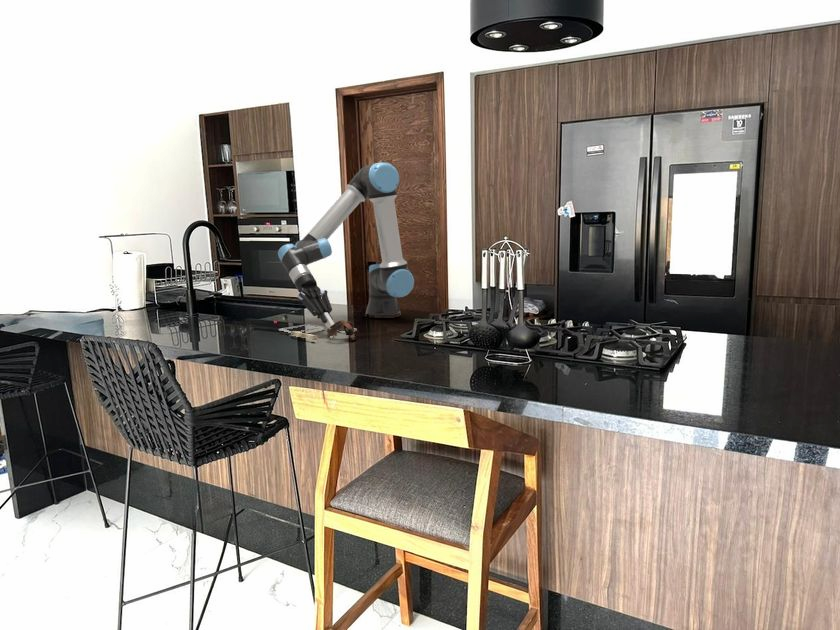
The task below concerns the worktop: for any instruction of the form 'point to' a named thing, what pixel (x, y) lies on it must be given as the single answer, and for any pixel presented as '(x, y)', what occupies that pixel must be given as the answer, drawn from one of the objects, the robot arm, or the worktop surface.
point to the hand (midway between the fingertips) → (332, 328)
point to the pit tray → (297, 327)
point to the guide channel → (307, 335)
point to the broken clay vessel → (341, 328)
